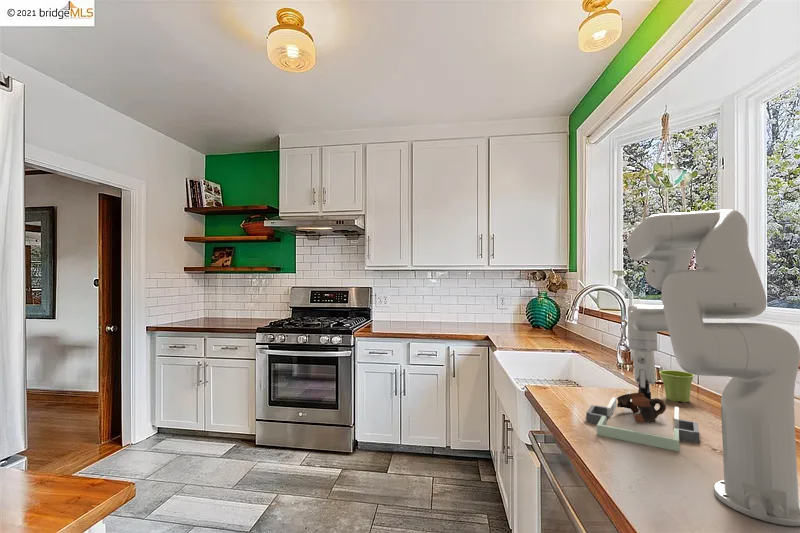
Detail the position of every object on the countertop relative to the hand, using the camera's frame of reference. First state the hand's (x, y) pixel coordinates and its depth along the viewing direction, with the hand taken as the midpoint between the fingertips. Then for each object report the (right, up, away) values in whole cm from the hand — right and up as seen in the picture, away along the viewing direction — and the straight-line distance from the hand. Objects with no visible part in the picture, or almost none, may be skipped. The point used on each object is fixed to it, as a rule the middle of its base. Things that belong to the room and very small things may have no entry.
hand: (644, 404), depth 118 cm
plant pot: (+16, -2, +8) cm, 18 cm away
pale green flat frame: (-9, -1, -13) cm, 16 cm away
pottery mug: (-6, -1, -8) cm, 10 cm away
